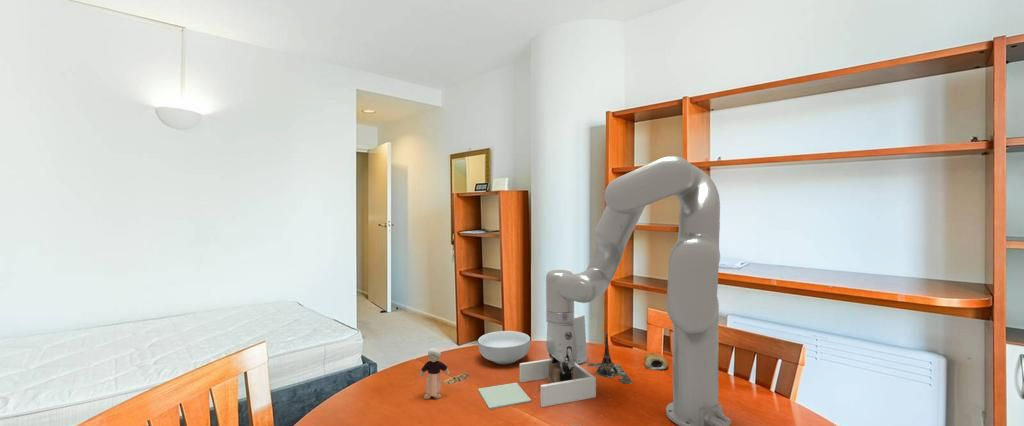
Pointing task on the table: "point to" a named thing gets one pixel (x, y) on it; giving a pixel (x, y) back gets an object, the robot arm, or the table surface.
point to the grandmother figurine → (433, 374)
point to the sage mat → (503, 395)
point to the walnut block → (556, 372)
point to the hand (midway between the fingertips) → (560, 382)
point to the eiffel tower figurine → (610, 367)
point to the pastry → (655, 361)
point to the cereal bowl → (504, 346)
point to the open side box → (559, 383)
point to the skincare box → (580, 338)
